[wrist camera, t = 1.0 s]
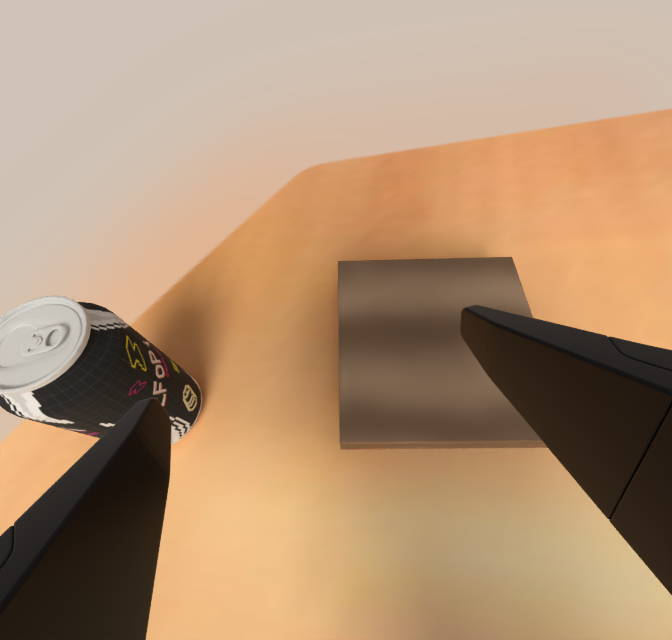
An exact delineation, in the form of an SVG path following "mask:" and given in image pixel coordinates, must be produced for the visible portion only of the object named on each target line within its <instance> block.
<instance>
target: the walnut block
mask: <svg viewBox="0 0 672 640" xmlns="http://www.w3.org/2000/svg"><path fill="white" fill-rule="evenodd" d="M338 293H339V392H340V446H341V449H426V448H530V447H547V446H546V445H545V444H544V442H543V441H542V440H541V439H540V438H539V436H538V435H537V434H536V433H535V432H534V430H533V429H532V428H531V427H530V426H529V424H528V423H527V422H526V421H525V420H524V419H523V417H522V416H521V415H520V414H519V413H518V411H517V410H516V409H515V408H514V407H513V405H512V404H511V403H510V402H509V401H508V399H507V398H506V397H505V396H504V395H503V394H502V392H501V391H500V390H499V389H498V388H497V386H496V385H495V384H494V383H493V382H492V380H491V379H490V378H489V377H488V375H487V374H486V372H485V371H484V370H483V368H482V367H481V365H480V364H479V362H478V361H477V359H476V358H475V356H474V355H473V353H472V352H471V350H470V349H469V347H468V346H467V344H466V343H465V341H464V340H463V338H462V336H461V332H460V325H461V311H462V309H463V308H464V307H468V306H471V305H480V306H485V307H489V308H493V309H497V310H501V311H506V312H510V313H514V314H518V315H522V316H526V317H531V318H533V317H532V314H531V311H530V308H529V305H528V302H527V299H526V297H525V294H524V291H523V288H522V285H521V282H520V279H519V276H518V273H517V270H516V268H515V265H514V262H513V259H512V257H494V258H453V259H412V260H370V261H338Z"/></svg>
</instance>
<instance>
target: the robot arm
mask: <svg viewBox="0 0 672 640" xmlns="http://www.w3.org/2000/svg"><path fill="white" fill-rule="evenodd" d="M460 332H461V336H462V338H463V340H464V341H465V343H466V344H467V346H468V347H469V349H470V350H471V352H472V353H473V355H474V356H475V358H476V359H477V361H478V362H479V364H480V365H481V367H482V368H483V370H484V371H485V372H486V374H487V375H488V377H489V378H490V379H491V380H492V382H493V383H494V384H495V385H496V386H497V388H498V389H499V390H500V391H501V392H502V394H503V395H504V396H505V397H506V398H507V399H508V401H509V402H510V403H511V404H512V405H513V407H514V408H515V409H516V410H517V411H518V413H519V414H520V415H521V416H522V417H523V419H524V420H525V421H526V422H527V423H528V424H529V426H530V427H531V428H532V429H533V430H534V432H535V433H536V434H537V435H538V436H539V438H540V439H541V440H542V441H543V442H544V444H545V445H546V446H547V447H548V448H549V449H550V451H551V452H552V453H553V454H554V455H555V457H556V458H557V459H558V460H559V461H560V463H561V464H562V465H563V466H564V467H565V469H566V470H567V471H568V472H569V473H570V474H571V476H572V477H573V478H574V479H575V480H576V482H577V483H578V484H579V485H580V486H581V488H582V489H583V490H584V491H585V492H586V494H587V495H588V496H589V497H590V498H591V499H592V501H593V502H594V503H595V504H596V505H597V507H598V508H599V509H600V510H601V511H602V513H603V514H604V515H605V516H606V517H607V518H608V519H610V522H611V524H612V525H613V526H614V527H615V528H616V530H617V531H618V532H619V533H620V534H621V536H622V537H623V538H624V539H625V540H626V541H627V543H628V544H629V545H630V546H631V547H632V549H633V550H634V551H635V552H636V553H637V555H638V556H639V557H640V558H641V559H642V561H643V562H644V563H645V564H646V565H647V566H648V568H649V569H650V570H651V571H652V572H653V574H654V575H655V576H656V577H657V578H658V580H659V581H660V582H661V583H662V584H663V585H664V587H665V588H666V589H667V590H668V591H669V593H670V594H671V595H672V350H668V349H663V348H658V347H653V346H649V345H645V344H640V343H636V342H631V341H627V340H623V339H619V338H615V337H607V336H606V335H602V334H598V333H593V332H589V331H585V330H581V329H577V328H572V327H568V326H564V325H560V324H556V323H551V322H547V321H543V320H539V319H535V318H531V317H526V316H522V315H518V314H514V313H510V312H506V311H501V310H497V309H493V308H489V307H485V306H480V305H471V306H468V307H464V308H463V309H462V311H461V325H460ZM171 427H172V425H171V420H170V417H169V415H168V414H167V412H166V411H165V409H164V408H163V406H162V405H161V403H160V402H159V400H158V399H157V398H155V397H151V398H148V399H145V400H141V401H139V402H137V403H136V404H135V405H134V406H133V407H132V408H131V409H130V410H129V411H128V412H127V413H126V414H125V415H124V416H123V417H122V418H121V419H120V420H119V421H118V422H117V423H116V424H115V425H114V426H113V427H112V428H111V429H110V430H109V431H108V432H107V433H105V434H104V435H103V436H102V437H101V438H100V439H99V440H98V441H97V442H96V443H95V444H94V445H93V446H92V447H91V448H90V449H89V450H88V451H87V452H86V453H85V454H84V455H83V456H82V457H81V458H80V459H79V460H78V461H77V462H76V463H75V464H74V465H73V466H72V467H71V468H70V469H69V470H68V471H67V472H66V473H65V474H64V475H63V476H62V477H60V478H59V479H58V480H57V481H56V482H55V483H54V484H53V485H52V486H51V487H50V488H49V489H48V490H47V491H46V492H45V493H44V494H43V495H42V496H41V497H40V498H39V499H38V500H37V501H36V502H35V503H34V504H33V505H32V506H31V507H30V508H29V509H28V510H27V511H26V512H25V513H24V514H23V515H22V516H21V517H20V518H19V519H18V520H17V521H15V523H14V526H11V527H9V528H8V529H7V530H6V531H5V532H4V533H3V534H2V535H1V536H0V640H146V633H147V627H148V620H149V613H150V607H151V600H152V593H153V587H154V580H155V573H156V567H157V560H158V553H159V547H160V540H161V533H162V527H163V520H164V513H165V507H166V500H167V494H168V487H169V479H170V460H171Z"/></svg>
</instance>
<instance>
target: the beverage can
mask: <svg viewBox="0 0 672 640" xmlns="http://www.w3.org/2000/svg"><path fill="white" fill-rule="evenodd" d="M151 397H155V398H157V399H158V400H159V402H160V403H161V405H162V406H163V408H164V409H165V411H166V412H167V414H168V415H169V417H170V420H171V425H172V427H171V445H172V444H174V443H176V442H177V441H179V440H180V439H181V438H183V437H184V436H185V435H186V434H187V433H188V432H189V431H190V429H191V428H192V427H193V425H194V424H195V422H196V420H197V418H198V416H199V413H200V410H201V405H202V393H201V390H200V387H199V385H198V383H197V381H196V380H195V379H194V378H193V377H192V376H191V375H190V374H188V373H187V372H186V371H185V370H183V369H182V368H181V367H180V366H179V365H177V364H176V363H175V362H174V361H172V360H171V359H170V358H169V357H167V356H166V355H165V354H164V353H163V352H161V351H160V350H159V349H158V348H156V347H155V346H154V345H153V344H151V343H150V342H149V341H148V340H146V339H145V338H144V337H143V336H142V335H140V334H139V333H138V332H137V331H135V330H134V329H133V328H132V327H130V326H129V325H128V324H127V323H125V322H124V321H123V320H122V319H120V318H119V317H118V316H117V315H115V314H114V313H113V312H111V311H109V310H108V309H106V308H104V307H102V306H99V305H96V304H93V303H85V302H75V301H74V300H72V299H69V298H66V297H61V296H46V297H41V298H36V299H33V300H30V301H28V302H25V303H23V304H21V305H19V306H17V307H15V308H13V309H12V310H10V311H8V312H7V313H5V314H4V315H3V316H2V317H0V406H1V407H2V408H3V409H5V410H6V411H8V412H9V413H12V414H14V415H16V416H18V417H21V418H25V419H29V420H32V421H36V422H40V423H44V424H48V425H52V426H55V427H59V428H63V429H67V430H71V431H75V432H78V433H82V434H86V435H90V436H94V437H98V438H101V437H102V436H103V435H104V434H105V433H107V432H108V431H109V430H110V429H111V428H112V427H113V426H114V425H115V424H116V423H117V422H118V421H119V420H120V419H121V418H122V417H123V416H124V415H125V414H126V413H127V412H128V411H129V410H130V409H131V408H132V407H133V406H134V405H135V404H136V403H137V402H139V401H141V400H145V399H148V398H151Z"/></svg>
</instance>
